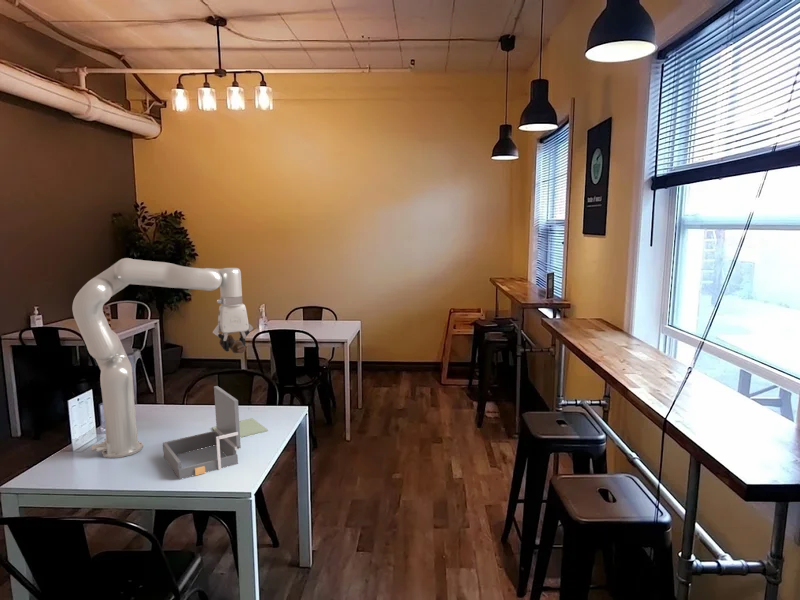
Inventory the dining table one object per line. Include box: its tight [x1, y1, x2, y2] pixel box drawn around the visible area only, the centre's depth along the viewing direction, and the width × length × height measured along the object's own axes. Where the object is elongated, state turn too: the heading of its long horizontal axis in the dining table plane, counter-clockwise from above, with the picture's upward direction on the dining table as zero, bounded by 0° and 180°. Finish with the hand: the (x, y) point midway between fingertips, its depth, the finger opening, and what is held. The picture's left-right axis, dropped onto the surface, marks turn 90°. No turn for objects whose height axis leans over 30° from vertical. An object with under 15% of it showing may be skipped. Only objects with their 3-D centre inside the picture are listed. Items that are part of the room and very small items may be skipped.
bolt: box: [218, 334, 246, 354], centre depth 199 cm, size 6×5×15 cm
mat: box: [211, 417, 269, 438], centre depth 203 cm, size 16×16×1 cm
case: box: [162, 385, 242, 480], centre depth 175 cm, size 19×22×21 cm
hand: (234, 349), depth 198 cm, fingers closed on bolt, 5 cm apart
